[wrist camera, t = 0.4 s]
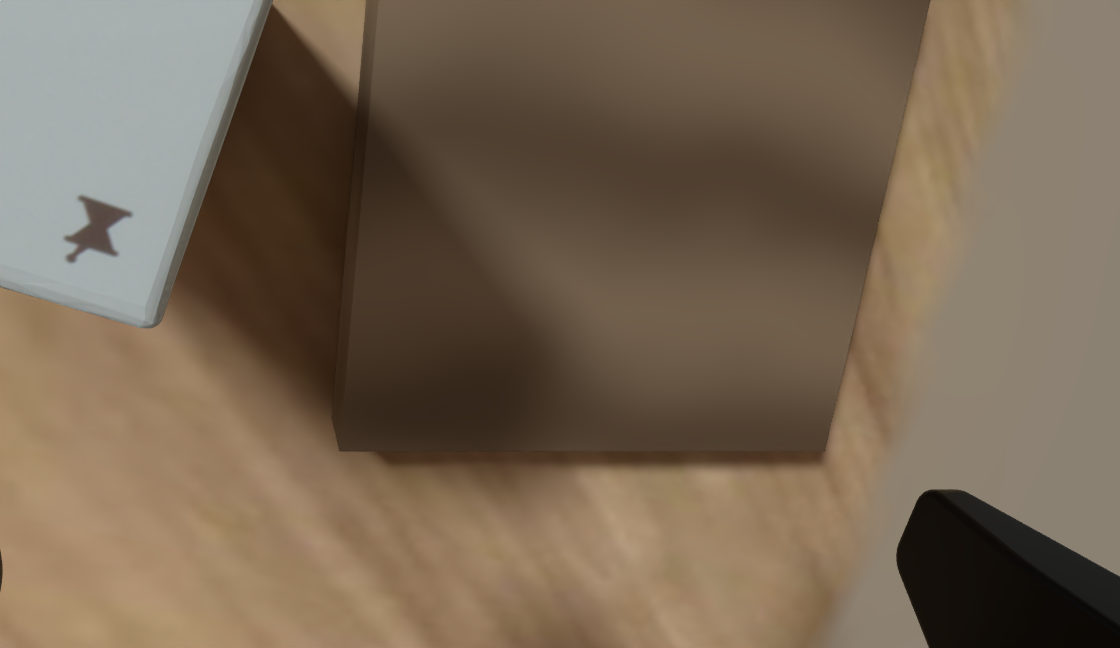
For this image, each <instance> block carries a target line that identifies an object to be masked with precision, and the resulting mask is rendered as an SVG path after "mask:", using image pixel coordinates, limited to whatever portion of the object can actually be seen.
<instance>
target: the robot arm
mask: <svg viewBox="0 0 1120 648" xmlns="http://www.w3.org/2000/svg"><path fill="white" fill-rule="evenodd" d="M896 557H897V566H898V570H899V573H900V576H901V578H902V581H903V583H904V586H905V588H906V591H907V593H908V596H909V598H910V601H911V604H912V606H913V609H914V611H915V613H916V616H917V619H918V621H919V623H920V626H921V629H922V631H923V634H924V636H925V639H926V641H927V644H928V646H929V648H1120V576H1118V575H1116V574H1114V573H1112V572H1110V571H1108V570H1107V569H1105V568H1103V567H1101V566H1099V565H1098V564H1096V563H1094V562H1092V561H1090V560H1088V559H1087V558H1085V557H1083V556H1081V555H1080V554H1078V553H1076V552H1074V551H1072V550H1071V549H1069V548H1067V547H1065V546H1063V545H1061V544H1060V543H1058V542H1056V541H1054V540H1052V539H1051V538H1049V537H1047V536H1045V535H1043V534H1042V533H1040V532H1038V531H1036V530H1034V529H1032V528H1030V527H1029V526H1027V525H1025V524H1023V523H1022V522H1020V521H1018V520H1016V519H1014V518H1012V517H1011V516H1009V515H1007V514H1005V513H1003V512H1001V511H1000V510H998V509H996V508H994V507H993V506H991V505H989V504H987V503H985V502H984V501H982V500H980V499H978V498H976V497H974V496H973V495H971V494H969V493H967V492H965V491H961V490H952V489H948V490H928V491H926V492H924V493H923V494H922V495H921V496H920V497H919V498H918V500H917V502H916V504H915V507H914V509H913V511H912V514H911V516H910V518H909V521H908V523H907V526H906V528H905V530H904V532H903V535H902V537H901V539H900V542H899V544H898V547H897V554H896ZM2 574H3V568H2V558H1V552H0V590H1V584H2Z"/></svg>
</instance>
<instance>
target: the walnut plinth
mask: <svg viewBox="0 0 1120 648" xmlns="http://www.w3.org/2000/svg"><path fill="white" fill-rule="evenodd" d="M929 4H930V0H366V10H365V22H364V34H363V46H362V58H361V70H360V82H359V94H358V106H357V118H356V130H355V142H354V154H353V166H352V178H351V190H350V202H349V214H348V226H347V237H346V249H345V261H344V273H343V285H342V297H341V309H340V321H339V333H338V345H337V357H336V369H335V381H334V393H333V405H332V422H333V426H334V430H335V434H336V438H337V443H338V447H339V451H825V448H826V443H827V439H828V435H829V431H830V426H831V422H832V418H833V414H834V409H835V405H836V401H837V397H838V392H839V388H840V384H841V379H842V375H843V371H844V367H845V362H846V358H847V354H848V350H849V345H850V341H851V337H852V333H853V328H854V324H855V320H856V315H857V311H858V307H859V303H860V298H861V294H862V290H863V286H864V281H865V277H866V273H867V269H868V264H869V260H870V256H871V251H872V247H873V243H874V239H875V234H876V230H877V226H878V222H879V217H880V213H881V209H882V205H883V200H884V196H885V192H886V188H887V183H888V179H889V175H890V170H891V166H892V162H893V158H894V153H895V149H896V145H897V141H898V136H899V132H900V128H901V124H902V119H903V115H904V111H905V106H906V102H907V98H908V94H909V89H910V85H911V81H912V77H913V72H914V68H915V64H916V60H917V55H918V51H919V47H920V42H921V38H922V34H923V30H924V25H925V21H926V17H927V13H928V8H929Z"/></svg>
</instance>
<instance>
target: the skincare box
mask: <svg viewBox="0 0 1120 648" xmlns="http://www.w3.org/2000/svg"><path fill="white" fill-rule="evenodd" d="M272 2H273V0H0V287H2V288H5V289H8V290H12V291H16V292H19V293H23V294H26V295H30V296H33V297H37V298H40V299H44V300H47V301H51V302H54V303H57V304H60V305H64V306H67V307H70V308H74V309H77V310H81V311H84V312H87V313H91V314H94V315H97V316H101V317H104V318H107V319H111V320H114V321H118V322H121V323H125V324H128V325H131V326H135V327H138V328H153V327H155V326H157V325H158V324H159V323H160V322H161V321H162V318H163V315H164V312H165V309H166V306H167V303H168V300H169V297H170V294H171V291H172V288H173V285H174V283H175V280H176V277H177V274H178V271H179V268H180V265H181V262H182V259H183V256H184V253H185V251H186V248H187V245H188V242H189V239H190V236H191V234H192V231H193V228H194V225H195V222H196V219H197V217H198V214H199V211H200V208H201V205H202V202H203V199H204V197H205V194H206V191H207V188H208V185H209V182H210V180H211V177H212V174H213V171H214V168H215V165H216V162H217V160H218V157H219V154H220V151H221V148H222V145H223V142H224V140H225V137H226V134H227V131H228V128H229V125H230V123H231V120H232V117H233V114H234V111H235V108H236V105H237V103H238V100H239V97H240V94H241V91H242V88H243V85H244V83H245V80H246V77H247V74H248V71H249V68H250V65H251V62H252V60H253V57H254V54H255V51H256V48H257V45H258V42H259V39H260V36H261V34H262V31H263V28H264V25H265V22H266V19H267V16H268V13H269V11H270V8H271V5H272Z"/></svg>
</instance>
